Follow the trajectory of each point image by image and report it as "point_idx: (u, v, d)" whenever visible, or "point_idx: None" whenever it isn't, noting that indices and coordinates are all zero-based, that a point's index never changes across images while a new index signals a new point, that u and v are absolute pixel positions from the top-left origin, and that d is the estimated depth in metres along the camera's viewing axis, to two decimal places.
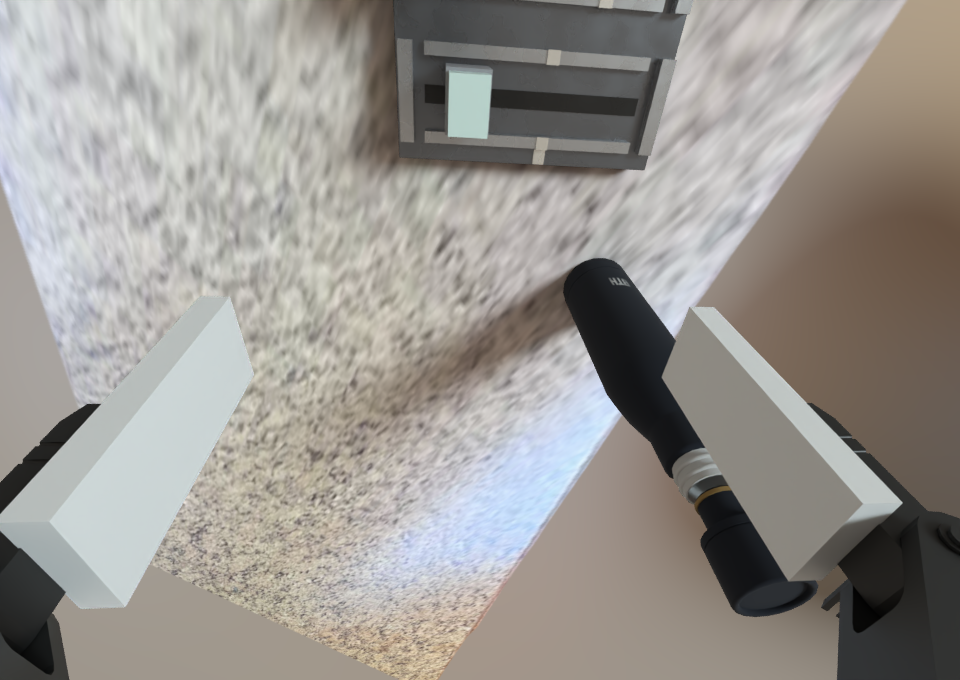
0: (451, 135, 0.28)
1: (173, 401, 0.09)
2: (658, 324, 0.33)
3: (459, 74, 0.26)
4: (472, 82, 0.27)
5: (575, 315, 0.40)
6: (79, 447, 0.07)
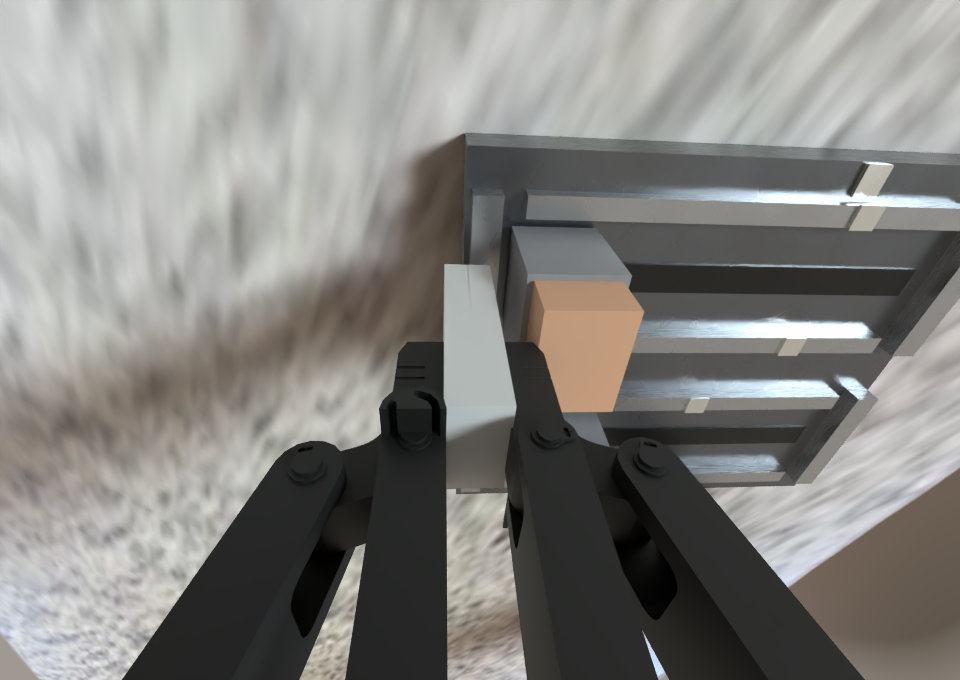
0: None
1: None
2: None
3: None
4: None
5: None
6: (456, 363, 0.10)
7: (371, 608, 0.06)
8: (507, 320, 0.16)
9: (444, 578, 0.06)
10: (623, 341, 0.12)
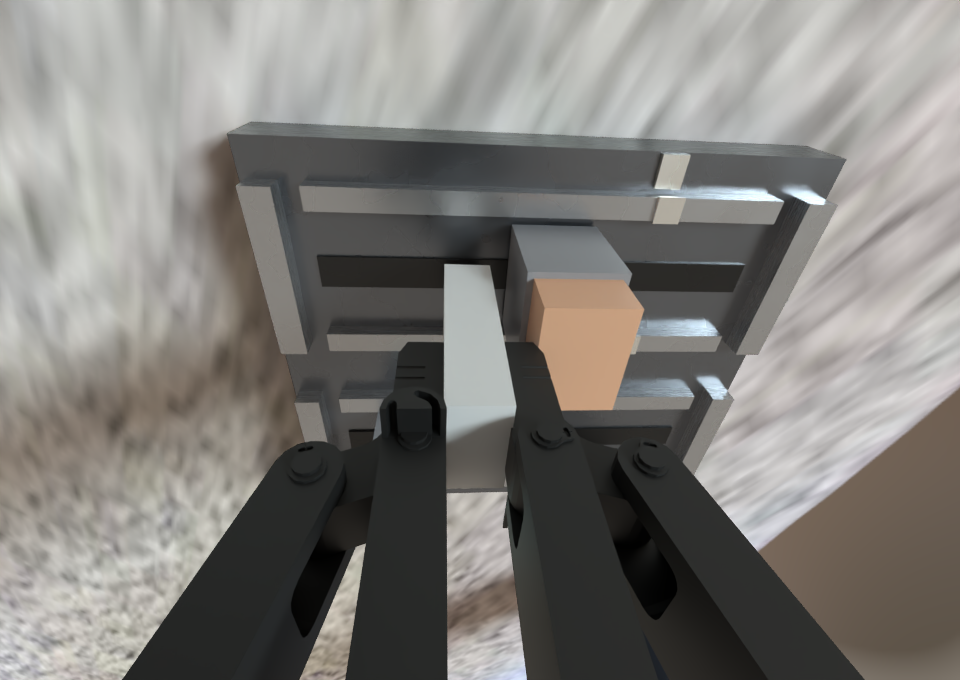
0: None
1: None
2: None
3: None
4: None
5: None
6: (456, 363, 0.10)
7: (371, 608, 0.06)
8: (507, 318, 0.16)
9: (444, 578, 0.06)
10: (624, 339, 0.12)
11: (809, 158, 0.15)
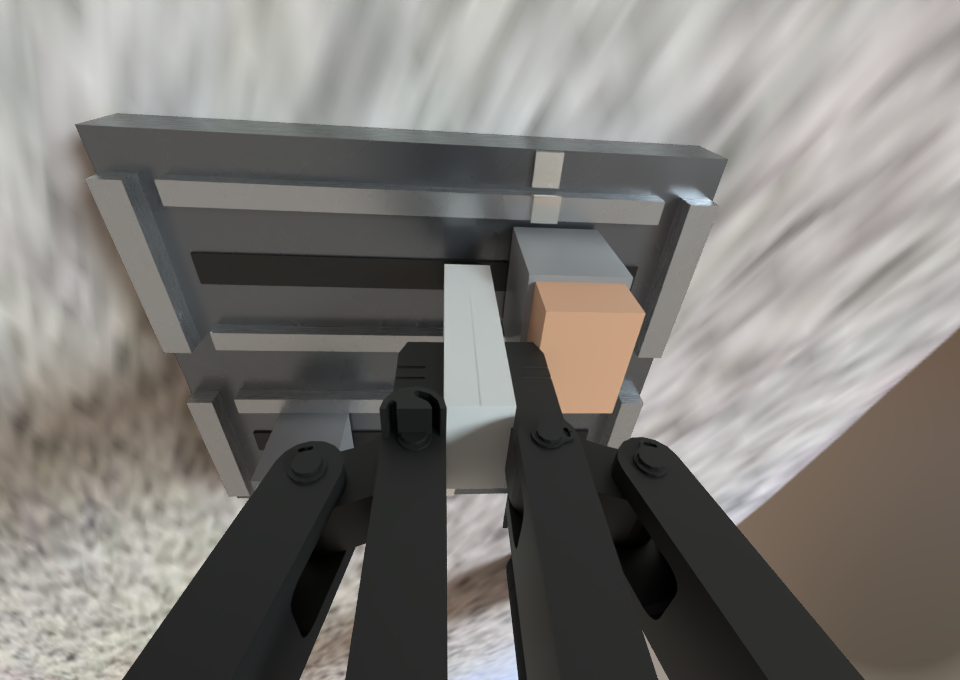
0: None
1: None
2: None
3: None
4: None
5: (515, 643, 0.29)
6: (457, 363, 0.10)
7: (371, 608, 0.06)
8: (507, 321, 0.16)
9: (444, 578, 0.06)
10: (624, 343, 0.12)
11: (689, 158, 0.14)
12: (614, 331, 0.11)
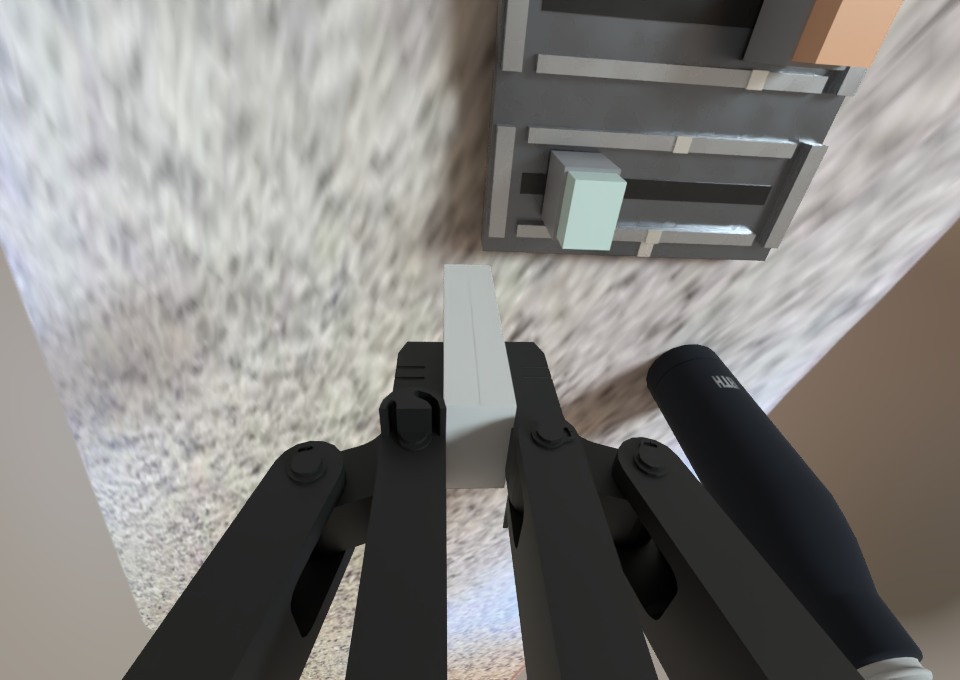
0: (567, 247, 0.23)
1: None
2: (790, 451, 0.28)
3: (587, 181, 0.21)
4: (602, 190, 0.22)
5: (670, 415, 0.35)
6: (456, 363, 0.10)
7: (371, 608, 0.06)
8: (762, 42, 0.22)
9: (444, 578, 0.06)
10: None
11: None
12: None
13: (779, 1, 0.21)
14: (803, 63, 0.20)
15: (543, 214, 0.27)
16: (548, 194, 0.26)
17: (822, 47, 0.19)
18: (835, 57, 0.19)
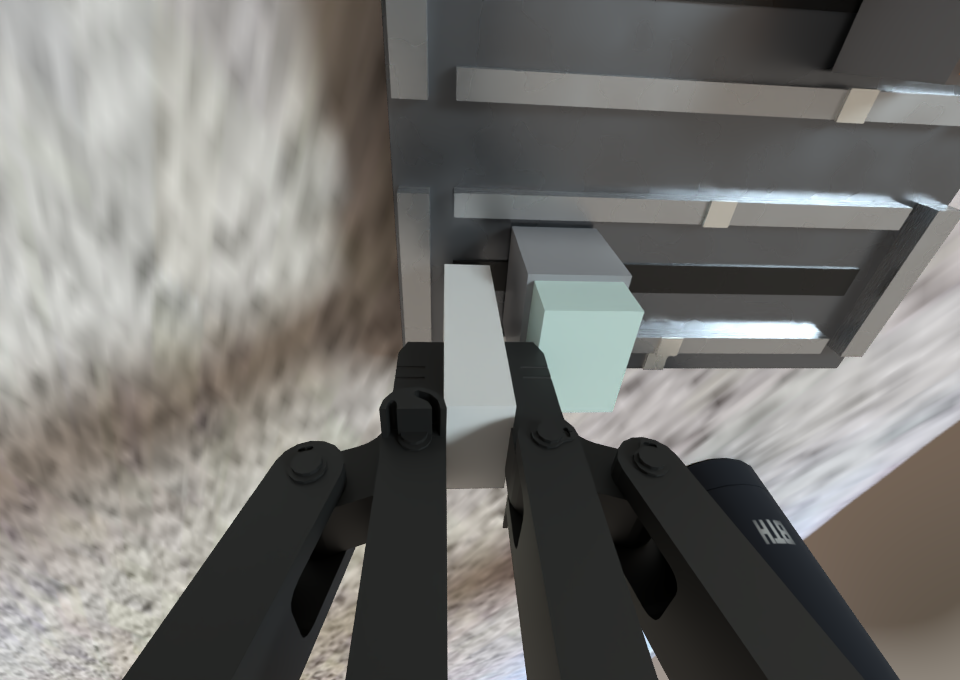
0: None
1: None
2: None
3: (568, 313, 0.11)
4: (597, 325, 0.11)
5: None
6: (456, 363, 0.10)
7: (372, 608, 0.06)
8: (878, 37, 0.11)
9: (445, 578, 0.06)
10: None
11: None
12: None
13: None
14: None
15: (504, 322, 0.17)
16: (509, 297, 0.15)
17: None
18: None
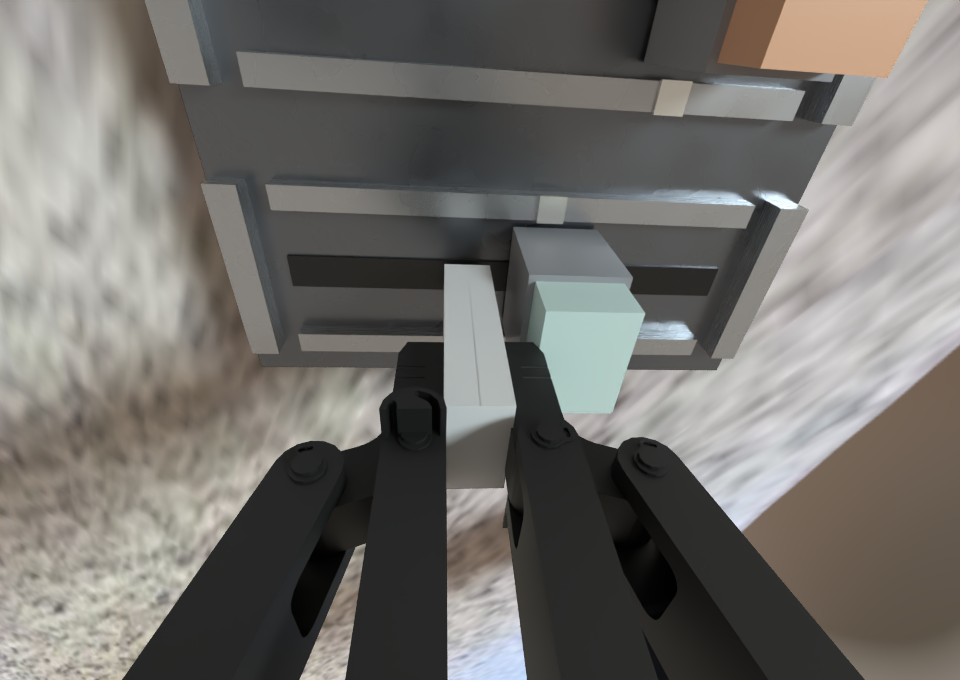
0: None
1: None
2: None
3: (570, 313, 0.11)
4: (598, 326, 0.11)
5: None
6: (457, 363, 0.10)
7: (371, 608, 0.06)
8: (669, 25, 0.11)
9: (444, 578, 0.06)
10: None
11: None
12: None
13: None
14: (743, 67, 0.09)
15: (504, 322, 0.17)
16: (509, 297, 0.15)
17: (775, 30, 0.08)
18: (808, 55, 0.08)
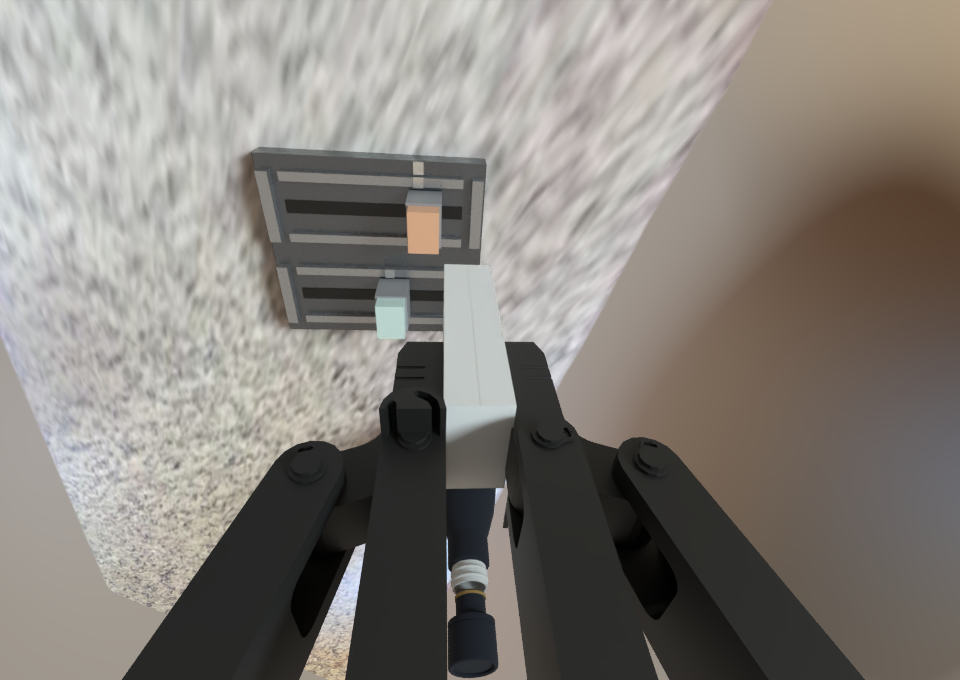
0: (380, 337, 0.42)
1: None
2: None
3: (381, 307, 0.40)
4: (391, 311, 0.40)
5: None
6: (456, 363, 0.10)
7: (371, 608, 0.06)
8: None
9: (444, 578, 0.06)
10: (435, 224, 0.36)
11: (471, 163, 0.38)
12: (430, 219, 0.36)
13: None
14: None
15: None
16: None
17: (408, 246, 0.37)
18: (417, 250, 0.37)
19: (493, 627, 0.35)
